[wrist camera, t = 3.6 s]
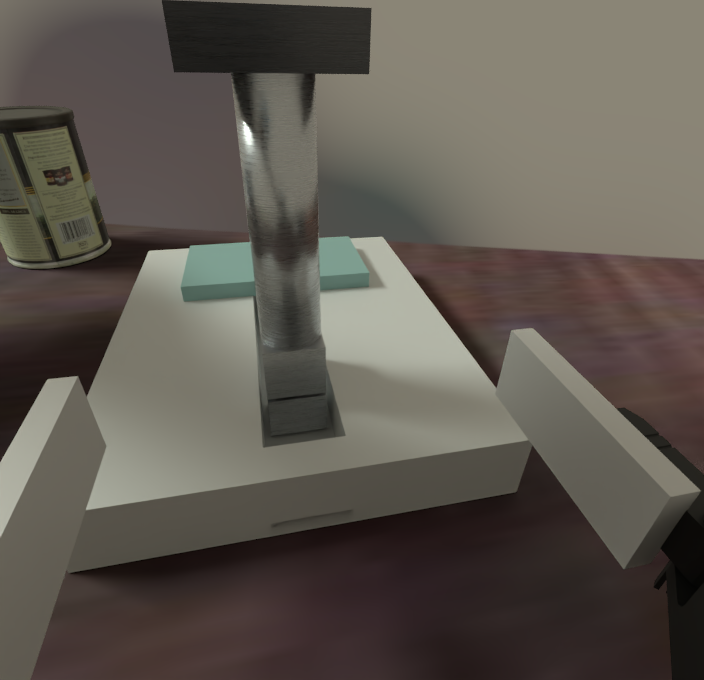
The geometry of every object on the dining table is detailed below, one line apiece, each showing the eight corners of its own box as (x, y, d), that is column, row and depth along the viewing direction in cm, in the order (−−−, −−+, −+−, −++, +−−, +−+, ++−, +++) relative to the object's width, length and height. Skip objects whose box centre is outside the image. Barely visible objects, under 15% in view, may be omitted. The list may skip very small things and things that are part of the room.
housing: (68, 573, 20) (35, 518, 18) (158, 290, 43) (148, 250, 40) (516, 492, 24) (534, 439, 22) (380, 273, 47) (382, 236, 45)
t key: (237, 440, 25) (160, -1, 14) (237, 403, 28) (171, 5, 17) (358, 423, 26) (374, 7, 15) (347, 389, 29) (354, 12, 18)
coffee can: (49, 232, 55) (1, 104, 47) (128, 237, 54) (93, 107, 46) (-18, 267, 46) (-89, 116, 39) (76, 273, 46) (22, 120, 38)
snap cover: (183, 301, 33) (180, 286, 32) (192, 258, 39) (190, 245, 38) (368, 286, 35) (369, 272, 35) (348, 248, 42) (348, 236, 41)
